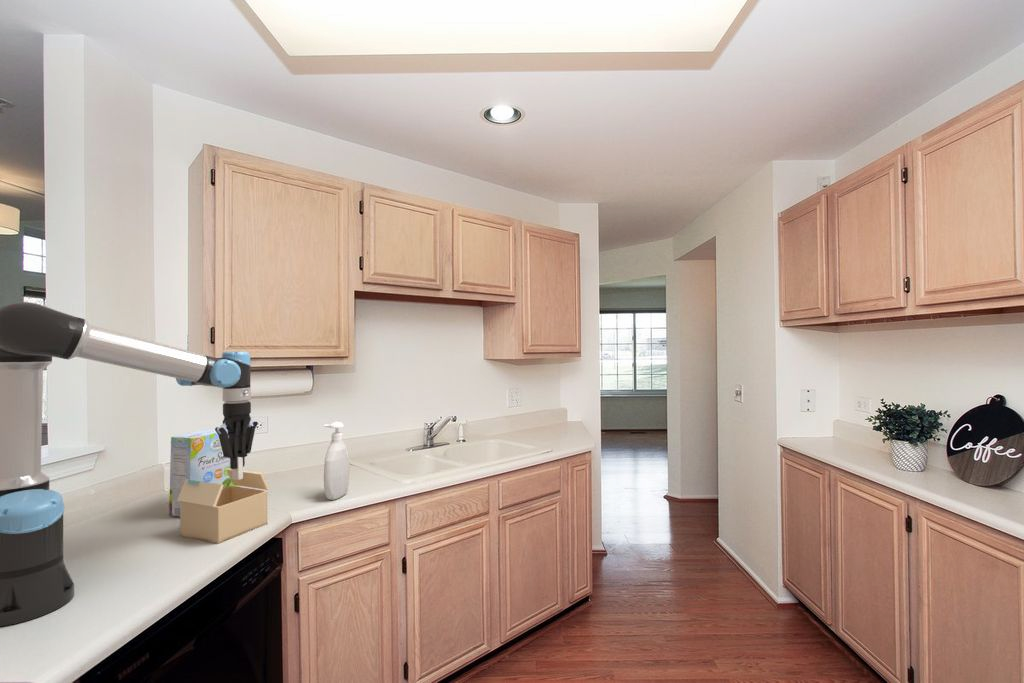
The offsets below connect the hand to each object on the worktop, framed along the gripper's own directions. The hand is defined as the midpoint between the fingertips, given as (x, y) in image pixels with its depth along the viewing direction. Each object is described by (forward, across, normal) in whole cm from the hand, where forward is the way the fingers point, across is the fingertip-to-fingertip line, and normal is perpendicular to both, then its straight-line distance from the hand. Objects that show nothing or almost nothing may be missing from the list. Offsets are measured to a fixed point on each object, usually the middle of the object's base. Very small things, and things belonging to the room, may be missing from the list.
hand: (237, 478), depth 150 cm
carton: (+14, -4, 0) cm, 15 cm away
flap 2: (+1, +3, 0) cm, 3 cm away
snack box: (+14, +8, +25) cm, 30 cm away
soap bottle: (+14, +33, -8) cm, 37 cm away
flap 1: (+1, -11, 0) cm, 11 cm away
